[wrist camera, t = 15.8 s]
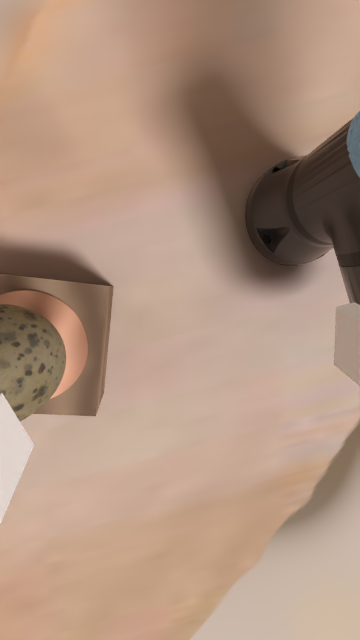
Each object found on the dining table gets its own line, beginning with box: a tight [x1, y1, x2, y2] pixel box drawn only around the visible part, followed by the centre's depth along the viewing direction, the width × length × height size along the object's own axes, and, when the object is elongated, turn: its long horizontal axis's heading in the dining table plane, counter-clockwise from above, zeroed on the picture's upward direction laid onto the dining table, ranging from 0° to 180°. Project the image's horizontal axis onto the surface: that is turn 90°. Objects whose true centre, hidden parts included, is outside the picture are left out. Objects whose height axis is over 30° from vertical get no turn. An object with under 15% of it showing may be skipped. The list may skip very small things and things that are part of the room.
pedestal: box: [0, 274, 113, 416], centre depth 35 cm, size 16×16×8 cm
